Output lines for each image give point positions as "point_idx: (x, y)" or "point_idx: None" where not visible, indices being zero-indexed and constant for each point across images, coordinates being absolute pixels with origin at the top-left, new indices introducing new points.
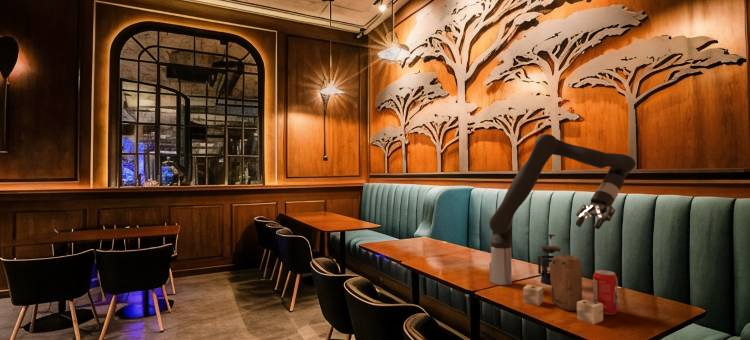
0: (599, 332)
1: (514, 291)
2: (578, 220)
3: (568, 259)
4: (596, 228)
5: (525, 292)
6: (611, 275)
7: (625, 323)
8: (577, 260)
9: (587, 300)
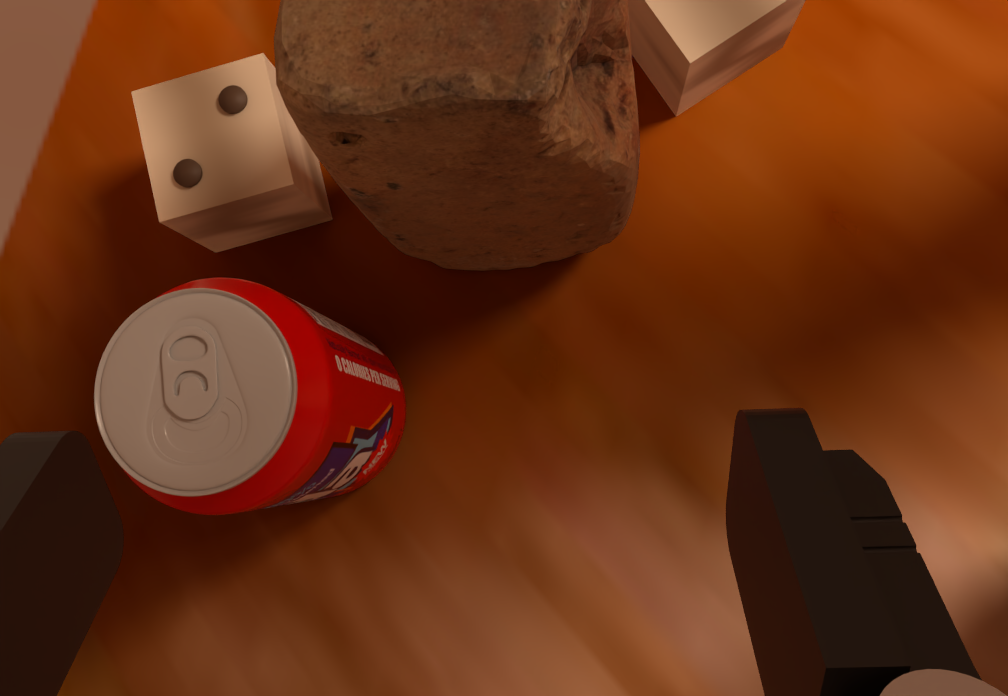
0: (85, 66)
1: (996, 52)
2: (807, 508)
3: None
4: (96, 505)
5: None
6: (104, 378)
7: None
8: (275, 46)
9: (261, 167)
